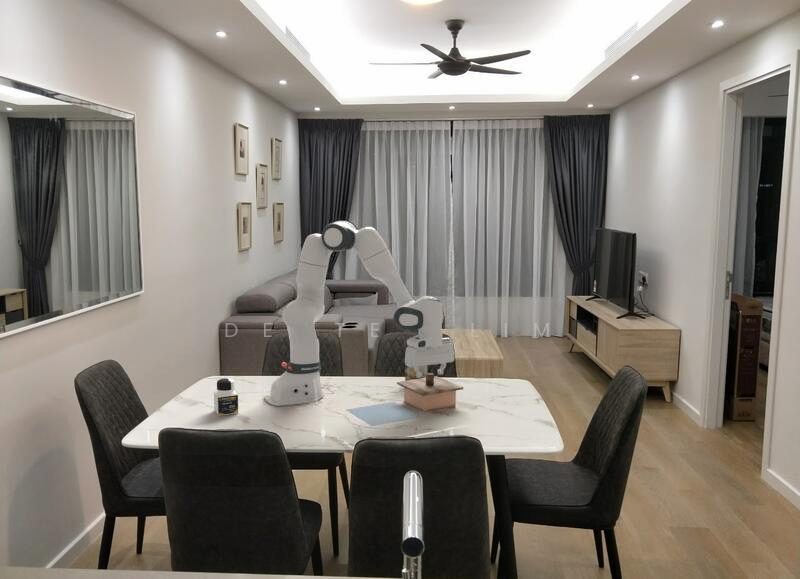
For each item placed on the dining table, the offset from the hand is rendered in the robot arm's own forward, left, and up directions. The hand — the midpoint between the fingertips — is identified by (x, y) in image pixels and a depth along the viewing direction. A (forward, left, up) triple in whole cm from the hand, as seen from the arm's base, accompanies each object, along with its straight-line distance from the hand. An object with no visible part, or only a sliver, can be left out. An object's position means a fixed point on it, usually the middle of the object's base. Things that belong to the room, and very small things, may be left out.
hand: (429, 375), depth 243 cm
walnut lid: (0, 0, -4) cm, 4 cm away
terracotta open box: (0, 0, -11) cm, 11 cm away
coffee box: (+9, +24, -11) cm, 28 cm away
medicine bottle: (-69, +28, -11) cm, 75 cm away
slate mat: (-21, -2, -11) cm, 24 cm away
